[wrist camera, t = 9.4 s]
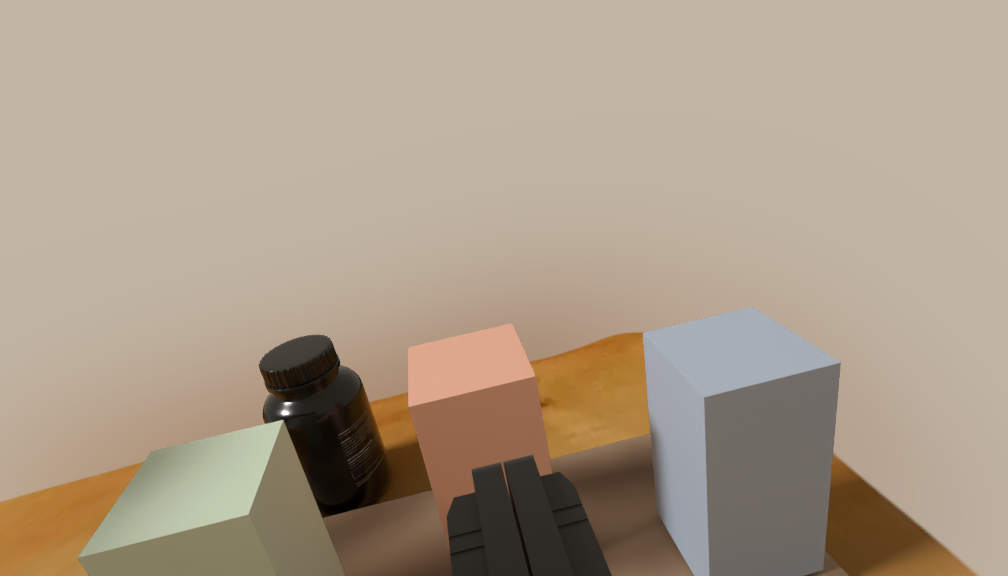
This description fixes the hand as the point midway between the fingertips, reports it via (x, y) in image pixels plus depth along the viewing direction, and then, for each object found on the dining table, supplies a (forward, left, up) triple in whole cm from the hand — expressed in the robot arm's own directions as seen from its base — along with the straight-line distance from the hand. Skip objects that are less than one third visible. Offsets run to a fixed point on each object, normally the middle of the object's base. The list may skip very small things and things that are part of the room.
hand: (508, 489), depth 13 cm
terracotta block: (-12, +8, -16) cm, 22 cm away
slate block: (-1, +15, -16) cm, 22 cm away
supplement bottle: (-26, +5, -18) cm, 32 cm away
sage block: (-15, -4, -16) cm, 22 cm away
